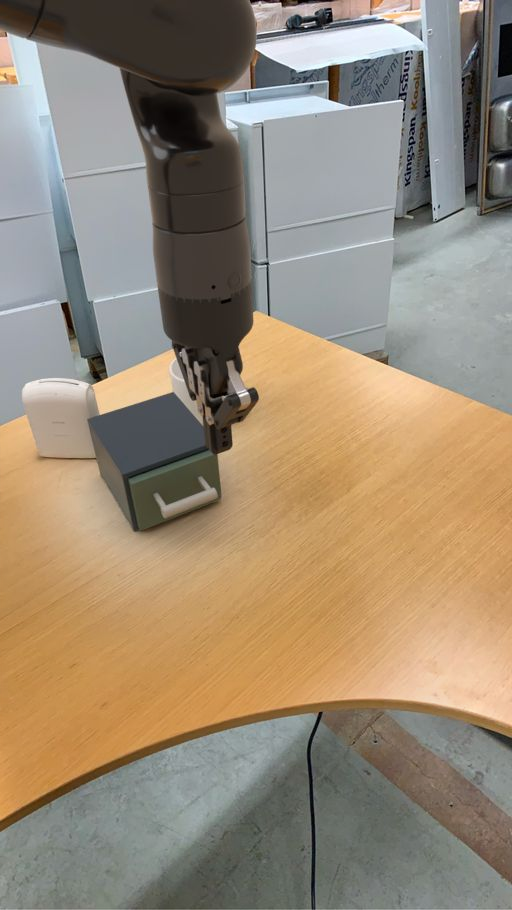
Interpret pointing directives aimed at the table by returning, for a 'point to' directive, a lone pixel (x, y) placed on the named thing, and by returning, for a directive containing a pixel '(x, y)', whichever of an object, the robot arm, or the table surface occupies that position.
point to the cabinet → (143, 443)
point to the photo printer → (61, 416)
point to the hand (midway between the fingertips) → (219, 448)
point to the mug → (182, 389)
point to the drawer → (175, 489)
